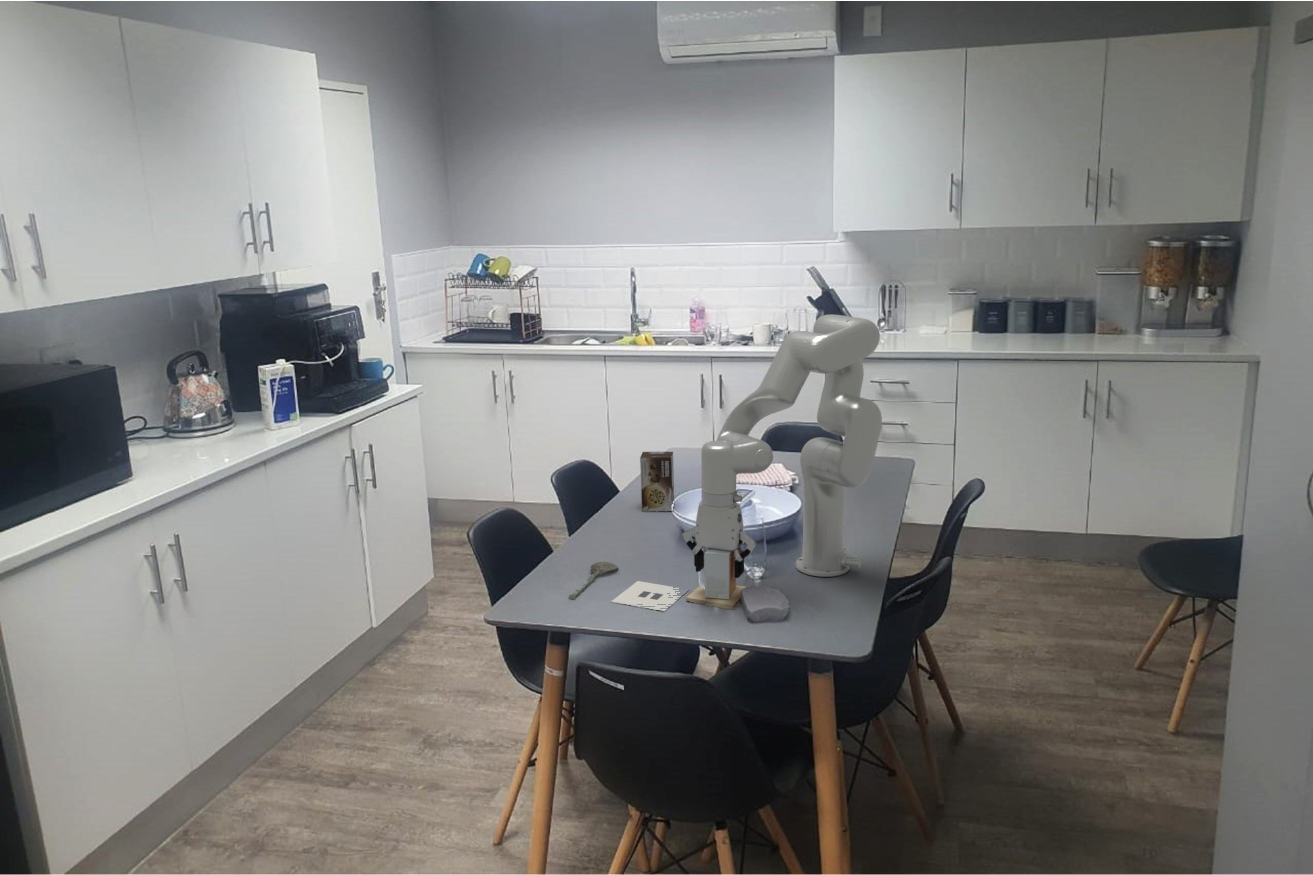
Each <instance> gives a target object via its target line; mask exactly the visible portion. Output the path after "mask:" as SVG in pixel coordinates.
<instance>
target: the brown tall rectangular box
mask: <svg viewBox="0 0 1313 875" xmlns="http://www.w3.org/2000/svg"><path fill="white" fill-rule="evenodd" d="M639 462H640V463H639V464H640V465H639V466H640V487H641V488H640V489H641V490H640V492H641V493H640V494H641V495H640V496H641V512H643V513H645V512H650V511H656V512H658V511H670V509H671V505H672V504H673V501H674V502H675V486H674V485H675V484H674V483H675V481H674V480H675V479H674V478H675V477H674V475H675V474H674V472H675V471H674V452H673V451H642V452H641V455H640V457H639Z"/></svg>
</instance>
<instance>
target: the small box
mask: <svg viewBox="0 0 1313 875" xmlns="http://www.w3.org/2000/svg"><path fill="white" fill-rule="evenodd" d="M735 560H736V557H735V556H734V554H733V553H732V551H725V550H718V549H712V548H707V549H706V551H705V552H704V581H705V597H706V598H718V599H730V597H731V595H732V593H733V591H734V589H735V588H736V585H737V578H735V577H734V562H735Z"/></svg>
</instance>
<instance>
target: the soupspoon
mask: <svg viewBox="0 0 1313 875" xmlns="http://www.w3.org/2000/svg"><path fill="white" fill-rule="evenodd" d="M617 569H619V566H618V565H616V564H614V563H612V562H610V561H597V562H595V563H593V564H592V565H590V570H592V571H593V573H592V574H591V575H590V576H589V577H588V578H586V580H585V581H584V582H583V584H581V585H580V586H579V588H578V589H575V591H574V592H573V593H571V594H569V595H568V599H570V600H577V596H578V594H580V592H581V591H582V590H583V588H585V587H586V586H587V585H588V584H589V582H591V581H592V580H593V579H594V578H595V577H596V576H598V575H599V574H603V573H607V572H609V571H610V572H611V571H614V570H617Z"/></svg>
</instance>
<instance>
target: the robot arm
mask: <svg viewBox="0 0 1313 875" xmlns="http://www.w3.org/2000/svg"><path fill="white" fill-rule="evenodd" d="M880 336H881V334H880V329H879V327H878V326H877V325H876V323H875V322H873V321H872V320H870V319H867V318H863V317H862V318H861V317H855V316H847V315H842V314H832V313H831V314H824V315H821V316H819V317H818V318H817V319H815V322H814V324H813V330H812V332H811V331H805V330H796V331H795V330H794V331H792V332H790V333H788V334H787V335H786V336H785V337H784V339H783V340H782V342H781V344H780V346H779V347H778V350H777V352H776V354H775V356H774V358H773V359H772V362H771V363H770V365H769V368H768V370H767V371H766V374H765V375H764V377H763V379H762V381H761V382H760V383H761V384H760V385H759V386H758V388H757V389H756V390H755V391H753V392H752V393H751V394H749V395H748V396H746V397H745V398H744V399H743V400H742V401H741V402H740V403H739V404H738V405H736V406H735V407H733V408H734V409H733V410H732V411H731V412H730V413H729V414H728V416H727V418H726V419H725V422H723V423H724V424H723V425H722V428H721V429H720V431H719V433H718V436H717V438H716V440H711V441H708V442H705V443H704V444H703V445H702V448H701V452H700V453H701V501H699V503H698V507H697V513H696V519H695V526H693V527H692V528H690V529H687V530H685V531H684V532H682V537H683V539H684V541H685V542H686V546H687V547H688V549H690V550H691V553H692V555H694V556H693V561H694V562H693V565H694V567H695V572H697V573H699V572H701V571H702V570H703V569H705V552H704V550H703V548H706V549H708V548H712V549H718V550H725V551H732V553H733V554H734V556H735V557H736V560H735V562H734V577H735V578H736V579H739V578H740V577H741V576H742V575H743V574H744V572H745V558H746V557H748V556H749V555H750V554H751V553H753V550H754V549H755V547H756V546H757V541H756V540H754V539H753V538H752V537H750V536H749V535H748V534H746V533H745V530H744V529H745V527H744V519H743V511H742V507H741V504H740V503H741V502H742V501H743V496H742V495H740V494H738V490H737V475H741V474H742V475H743V474H747V475H748V474H759V473H763V472H764V471H767V469H768V468H769V467H770V466H771V465H772V463H773V461H774V460H773V459H774V452H773V449H772V448H771V446H770V445H769V444H768V443H767V442H766V441H764V440H762V439H759V438H756V437H752V436H749V435H750V433H751V431H752V430H753V428H754V427H755V426H756V425H757V424H758V423H759V422H760V421H761V420H762V419H764V418H767V417H768V416H769V415H773V414H776V413H778V412H781V411H784V410H787V409H790V408H791V407H793V405H795V403H796V401H797V399H798V397H799V395H800V393H801V391H802V389H803V387H804V385H805V383H806V381H807V379H808V377H809V375H810V373H815V374H822V375H823V374H824V375H825V379H824V384H823V387H822V392H821V394H820V398H819V399H820V400H819V405H818V409H817V414H816V420H817V425H818V426H819V427H820V428H821V429H822V430H823V431H826V432H829V433H830V434H834V435H837V436H841V437H844V439H843V441H840V440H836V439H833V438H830V437H822V436H821V437H819V436H818V437H814V438H811V439H809V440H808V441H807V442H806V443H805V444H804V446H803V447H802V449H801V452H800V459H799V464H800V468H801V469H800V470H801V474H802V480H803V517H802V518H803V520H802V556H800V557H799V558H797V560H796V561H795V568H796V569H797V570H798V571H800V572H801V573H803V574H806V575H809V576H813V577H821V578H822V577H823V578H828V577H829V578H831V577H838V576H842V575H844V574H846V573H847V572H848V571H849V570H850V567H853V568H858V569H860V568H861V564H862V560H861V559H859V556H857V555H856V556H855V555H850V554H848V549H847V548H844V541H845V540H844V537H845V508H846V495H845V494H846V493H845V489H844V488H849V489H856V488H858V487H860V486H862V485H863V484H864V483H865V482H866V481H867V480H868V479H869V476H870V474H871V471H872V468H873V464H874V459H875V456H876V452H877V448H878V445H879V440H880V436H881V432H882V426H883V417H882V411H881V410H880V408H879V406H878V405H877V404H876V403H875V401H873V400H870V399H868V398H865V397H861V391H862V386H863V382H864V376H865V375H864V374H865V372H864V365H863V362H862V360H864V359H866V358H867V357H869V356H870V355H872V354H873V353H874V352H875V351H876V350H877V348H878V346H879V344H880V343H879V342H880V339H881V338H880ZM739 502H740V503H739ZM694 534H695V536H694V537H695V539H693V535H694ZM743 544H745V545H747V546H746V548H745V550H744V549H743V547H742V545H743Z"/></svg>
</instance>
